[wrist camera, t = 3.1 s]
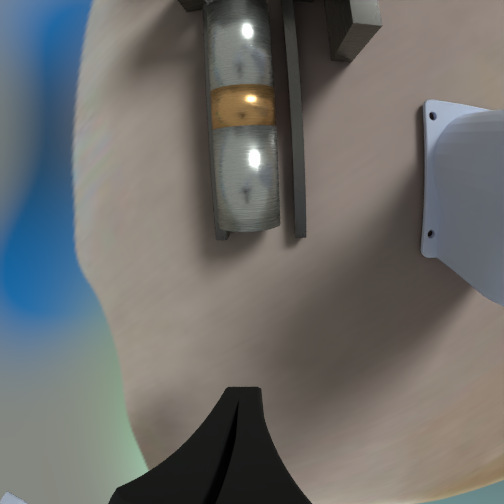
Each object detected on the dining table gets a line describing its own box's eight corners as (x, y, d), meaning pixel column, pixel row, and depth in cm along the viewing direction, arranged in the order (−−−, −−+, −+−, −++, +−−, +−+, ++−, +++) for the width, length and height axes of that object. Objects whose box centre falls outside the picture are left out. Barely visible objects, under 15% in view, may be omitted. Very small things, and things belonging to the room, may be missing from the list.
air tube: (287, 219, 18) (268, 233, 15) (235, 217, 19) (207, 230, 16) (275, 12, 14) (254, -11, 11) (224, 22, 15) (195, 4, 13)
